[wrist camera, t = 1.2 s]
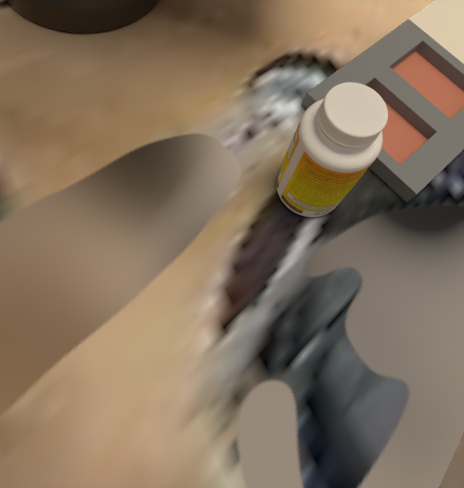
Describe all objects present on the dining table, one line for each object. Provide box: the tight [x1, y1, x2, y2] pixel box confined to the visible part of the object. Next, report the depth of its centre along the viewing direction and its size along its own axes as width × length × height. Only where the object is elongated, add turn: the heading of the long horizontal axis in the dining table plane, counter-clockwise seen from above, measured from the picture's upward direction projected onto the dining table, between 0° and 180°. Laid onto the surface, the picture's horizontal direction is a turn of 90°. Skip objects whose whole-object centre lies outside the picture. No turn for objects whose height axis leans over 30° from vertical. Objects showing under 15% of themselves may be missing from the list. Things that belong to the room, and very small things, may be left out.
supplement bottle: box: [276, 82, 388, 217], centre depth 27 cm, size 5×5×10 cm
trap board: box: [302, 0, 464, 202], centre depth 35 cm, size 21×12×2 cm, turn 132°
